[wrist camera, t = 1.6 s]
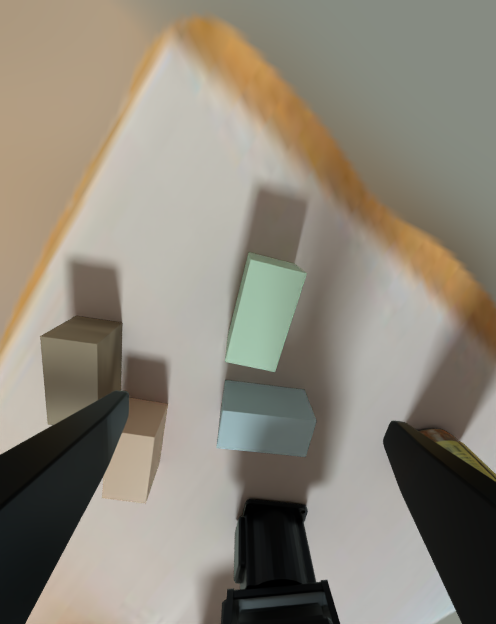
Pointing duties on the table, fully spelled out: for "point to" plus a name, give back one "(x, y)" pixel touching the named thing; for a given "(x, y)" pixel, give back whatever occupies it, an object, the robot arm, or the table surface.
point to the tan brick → (136, 453)
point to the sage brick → (263, 311)
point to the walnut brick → (80, 364)
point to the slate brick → (265, 419)
